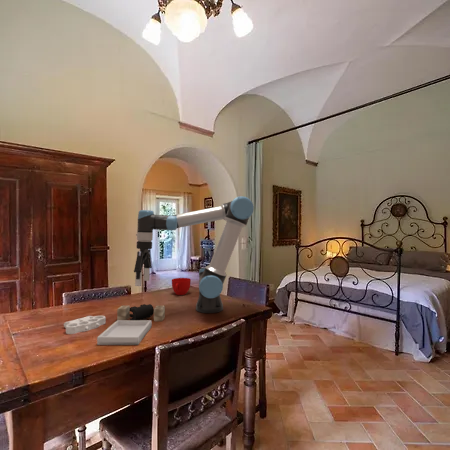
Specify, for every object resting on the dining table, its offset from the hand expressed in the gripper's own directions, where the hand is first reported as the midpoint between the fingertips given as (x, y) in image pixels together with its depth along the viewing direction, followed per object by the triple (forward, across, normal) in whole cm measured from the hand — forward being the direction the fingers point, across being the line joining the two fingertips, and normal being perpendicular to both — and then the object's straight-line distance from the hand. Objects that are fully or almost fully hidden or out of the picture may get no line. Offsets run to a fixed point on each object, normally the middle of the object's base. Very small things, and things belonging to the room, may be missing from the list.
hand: (142, 283), depth 142 cm
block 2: (+18, 0, +10) cm, 20 cm away
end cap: (+18, 0, 0) cm, 18 cm away
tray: (+18, +21, +1) cm, 28 cm away
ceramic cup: (+17, -51, +11) cm, 55 cm away
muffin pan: (+20, +12, -22) cm, 32 cm away
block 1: (+18, 0, -8) cm, 20 cm away
